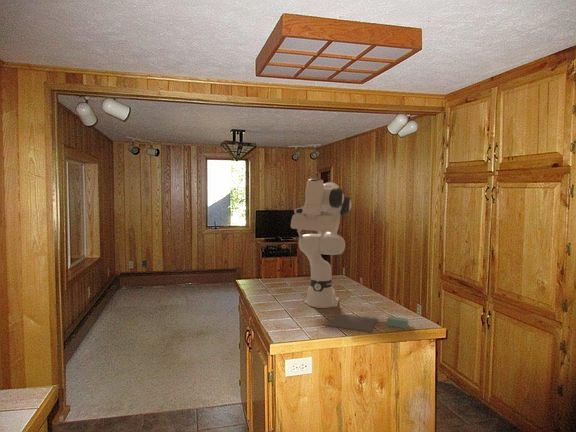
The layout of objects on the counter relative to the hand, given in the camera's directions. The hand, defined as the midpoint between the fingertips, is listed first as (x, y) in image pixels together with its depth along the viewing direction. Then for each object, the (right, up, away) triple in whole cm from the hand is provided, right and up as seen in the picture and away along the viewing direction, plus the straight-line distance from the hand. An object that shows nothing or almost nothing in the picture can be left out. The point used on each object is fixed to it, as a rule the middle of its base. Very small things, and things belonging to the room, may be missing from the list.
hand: (310, 239), depth 185 cm
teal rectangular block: (+40, -40, -6) cm, 57 cm away
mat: (+20, -39, -3) cm, 44 cm away
